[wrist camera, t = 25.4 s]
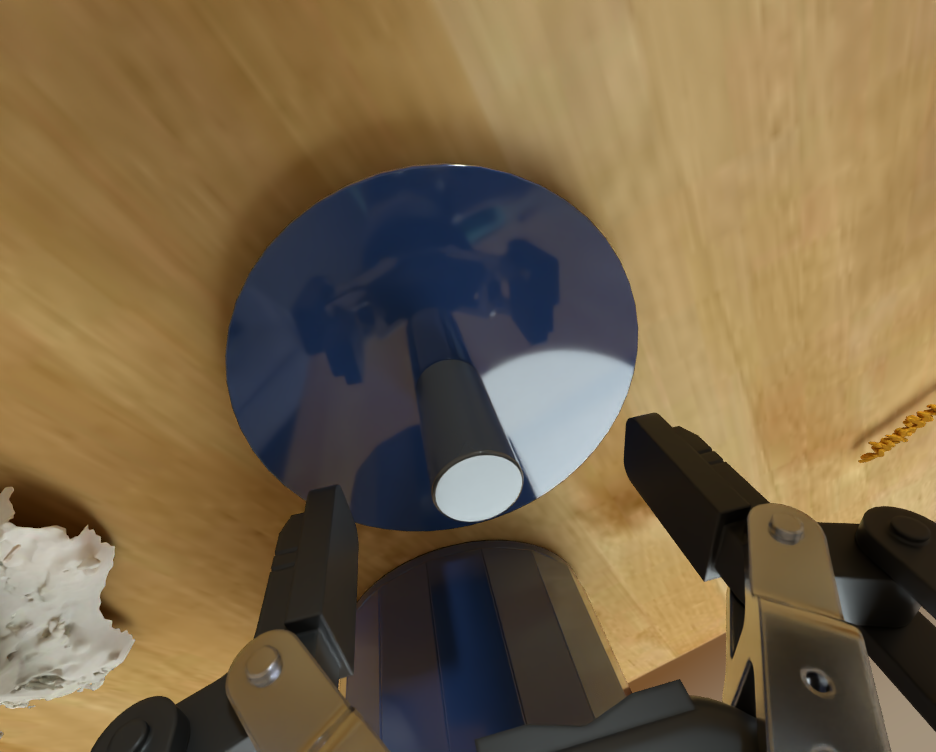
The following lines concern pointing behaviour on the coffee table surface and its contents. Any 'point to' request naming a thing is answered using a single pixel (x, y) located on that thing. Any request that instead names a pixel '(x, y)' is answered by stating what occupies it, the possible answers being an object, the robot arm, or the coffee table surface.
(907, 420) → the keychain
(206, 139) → the coffee table surface
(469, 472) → the lid
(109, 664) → the frog
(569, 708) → the tin
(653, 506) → the robot arm
